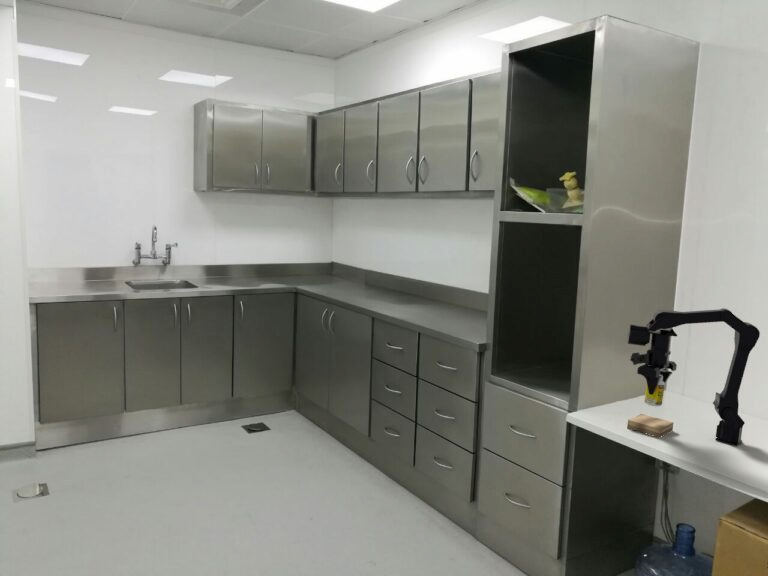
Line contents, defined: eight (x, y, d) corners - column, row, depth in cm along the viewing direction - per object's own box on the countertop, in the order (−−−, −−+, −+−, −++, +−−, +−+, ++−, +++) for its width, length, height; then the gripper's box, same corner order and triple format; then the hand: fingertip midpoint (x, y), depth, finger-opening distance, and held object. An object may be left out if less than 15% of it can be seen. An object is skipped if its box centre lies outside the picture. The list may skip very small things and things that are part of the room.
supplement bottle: (657, 408, 210) (661, 378, 208) (641, 403, 214) (644, 374, 212) (664, 405, 214) (668, 375, 212) (648, 400, 218) (651, 372, 216)
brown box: (672, 430, 215) (673, 422, 215) (659, 437, 207) (660, 429, 207) (640, 422, 223) (641, 413, 222) (627, 428, 215) (628, 419, 214)
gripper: (647, 340, 223) (642, 383, 225) (624, 346, 210) (619, 391, 212) (679, 346, 216) (674, 390, 218) (658, 352, 202) (652, 399, 204)
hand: (654, 392), depth 213 cm, fingers closed on supplement bottle, 6 cm apart
